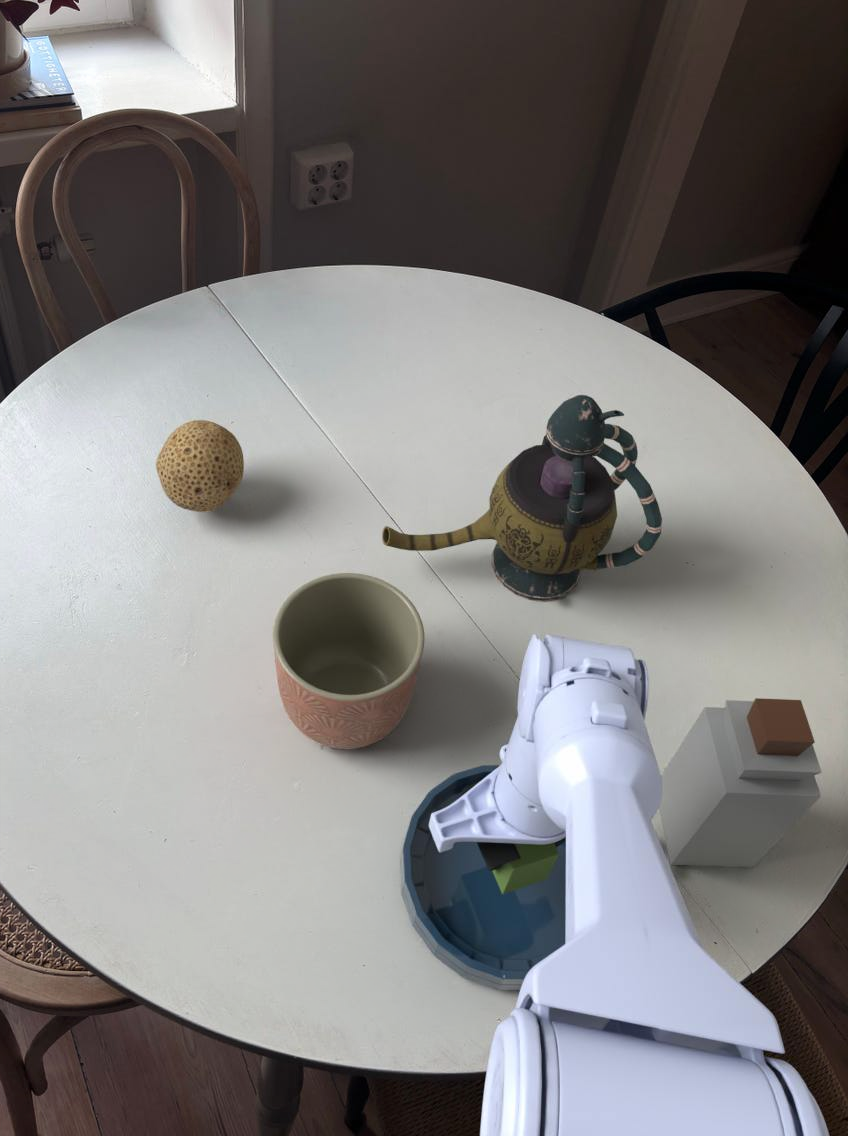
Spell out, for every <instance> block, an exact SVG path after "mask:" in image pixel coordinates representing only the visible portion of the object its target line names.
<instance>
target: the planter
mask: <svg viewBox="0 0 848 1136" xmlns="http://www.w3.org/2000/svg"><path fill="white" fill-rule="evenodd" d="M422 620H423V619H422V618H421V616H420V613H419V611H418V610H417V608H416V606H415V604H414V603H413V602H412V601H411V599H410V598H409V597H408V596H406V594H404V593H403V591H401V590H400V589H399V588H397V587H396V586H394V585H392V584H391V583H389V582H387V581H385V580H383V579H381V578H378V577H376V576H372V575H368V574H363V573H355V572H339V573H332V574H331V573H330V574H327V575H322V576H320V577H316V578H314V579H312V580H310V581H308V582H306V583H305V584H302V586H300V587H298V588H297V589H296V590H295V591H293V592H292V593H291V594H290V595H289V596H288V597H287V599H286V600H285V601H284V602H283V604H281V607H280V608H279V610H278V612H277V614H276V617H275V620H274V624H273V627H272V628H273V631H272V643H273V652H274V662H275V663H274V664H275V671H276V672H275V673H276V678H277V685H278V691H279V695H280V698H281V702H282V706H283V709H284V710H285V712H286V714H287V716H288V718H289V719H290V721H291V722H292V723H293V725H294V727H296V729H297V730H298V731H300V732H301V734H303V735H304V736H305V737H307V738H308V739H310V740H311V741H313V742H315V743H317V744H320V745H322V746H325V747H328V748H332V749H338V750H352V749H353V750H354V749H359V748H363V747H366V746H367V747H368V746H369V745H372V744H375V743H377V742H378V741H380V740H382V739H383V738H385V737H386V736H388V735H389V734H390V733H391V732H392V731H393V730H394V729H395V728H396V727H397V725H398V724H399V723H400V721H401V720H402V719H403V717H404V716H405V713H406V711H407V709H408V707H409V705H410V702H411V699H412V696H413V694H414V691H415V687H416V682H417V680H418V675H419V671H420V665H421V661H422V657H423V654H424V649H425V641H426V639H425V638H426V637H425V629H424V623H423V621H422Z"/></svg>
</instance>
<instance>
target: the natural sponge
mask: <svg viewBox="0 0 848 1136" xmlns="http://www.w3.org/2000/svg"><path fill="white" fill-rule="evenodd" d="M155 468H156V472H157V475H158V479H159V482H160V485H161V488H162V490H163V492H164V494H165V496H166V497H167V498H168V499H169V500H170V501H171V502H172V503H173V504H174V505H176V506H177V507H180V508H182V509H184V510H188V511H191V512H199V513H207V512H212V511H214V510H217V509H218V508H220V507H222V506H223V505H224V504H225V503H226V502H227V501H228V500H229V499H230V498H231V497H232V495H234V493H235V492H236V490H237V489H238V488H239V487H240V485H241V483H242V480H243V479H244V478H243V477H244V472H245V471H244V470H245V460H244V453H243V448H242V446H241V444H240V442H239V440H238V438H237V437H236V436H235V435H234V433H232V432H231V431H230V430H229V429H227V428H226V427H224V426H223V425H220V424H218V423H216V422H213V421H211V420H210V421H209V420H203V419H197V420H190V421H187V422H185V423H183V424H181V425H180V426H178V427H176V428H175V429H174V430H173V431H172V432H171V433H170V435H169V436H168V437H167V438H166V440H165V442H164V444H163V445H162V448H161V450H160V452H159V453H158V456H157V458H156V461H155Z"/></svg>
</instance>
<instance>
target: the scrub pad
mask: <svg viewBox="0 0 848 1136" xmlns="http://www.w3.org/2000/svg"><path fill="white" fill-rule="evenodd" d="M515 846H516V848H517V850H518V853H519V855H520V857H521V859H518V860H515V861H512V862H509V863H506V864H504V865H503V866H502V867H501V868H499V869H496V870H493V873H494V876H495V878H496V881H497V883H498V885H499V888H500V890H501V893H502V894H506V893H509V892H512V891H515V890H518V889H520V888H523V887H526V886H529V885H532V884H535V883H538V882H541V881H544V880H546V879H547V877H548V875H549V873H550V871H551V869H552V867H553V865H554V863H555V862H556V860H557V858H558V856H559V852H558V850H557V848H556V846H555V843H550V844H517V843H515Z"/></svg>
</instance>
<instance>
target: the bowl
mask: <svg viewBox="0 0 848 1136" xmlns="http://www.w3.org/2000/svg"><path fill="white" fill-rule="evenodd" d="M500 765H501V764H500ZM500 765H497V764H495V765H494V764H482V765H478V766H475V767H472V768H469V769H464V770H461V771H459V772H455V773H453V774H452V775H450V776H448V777H447V778H445V780H443V781H441V782H440V783H439V784H437V785H436V786H435V787H433V788H432V789H430V790H429V791H428V792H427V794H426V795H425V797H424V798H423V799H422V801H421V802H420V804H419V805H418V806H417V808H416V809H415V811H414V812H413V814H412V815H411V817H410V821H409V824H408V828H407V832H406V835H405V838H404V842H403V846H402V849H401V855H400V861H399V866H400V867H399V869H400V870H399V871H400V893H401V897H402V900H403V903H404V905H405V908H406V911H407V913H408V917H409V920H410V923H411V925H412V927H413V929H414V930H415V932H416V933H417V934H418V936H419V937H420V938H421V940H422V941H423V943H424V944H425V945H426V947H427V948H428V949H429V951H430V952H431V954H432V955H433V956H434V957H435V958H436V959H438V960H439V962H441V963H442V964H444V965H446V966H447V967H448V968H450V970H452V971H453V972H454V973H456V974H457V975H458V976H460V977H461V978H463V979H465V980H468V981H471V982H473V983H476V984H479V985H482V986H484V987H487V988H492V989H493V990H498V991H520V989H521V986H522V984H523V981H524V979H525V977H526V975H527V973H528V972H529V971H530V970H531V969H532V967H533V966H534V965H536V964H537V963H539V962H540V961H542V960H543V959H545V958H546V957H547V956H549V955H550V954H552V953H553V952H555V951H556V950H558V949H559V948H560V947H562V946H563V945H565V937H566V841H565V842H564V843H562V844H561V845H559V846H558V847H557V850H558V852H559V856H558V858H557V860H556V862H555V863H554V865H553V867H552V869H551V871H550V873H549V875H548V877H547V879H546V880H544V881H541V882H538V883H535V884H532V885H529V886H526V887H523V888H520V889H518V890H515V891H512V892H509V893H506V894H502V893H501V890H500V888H499V885H498V883H497V881H496V878H495V876H494V873H493V871H489V870H488V868H487V865H486V863H485V861H484V858H483V856H482V854H481V852H480V849H479V847H478V844H477V842H455V843H454V845H453V848H452V849H450V850H447V851H444V852H441V853H440V852H439V851H438V849H437V846H436V844H435V841H434V839H433V836H432V833H431V831H430V828H429V822H430V817H431V814H432V813H434V812H437V811H439V810H442V809H444V808H446V807H448V806H449V805H451V804H452V803H454V802H455V801H456V800H458V799H459V798H460V797H461V793H462V791H463V790H464V789H465V788H466V787H468V786H470V785H474V784H477V783H479V782H480V781H482V780H483V779H484V778H485V777H487V776H488V775H489V774H490V773H492V772H493V771H494V770H495V769H497V768H498V767H499V766H500Z"/></svg>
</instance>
